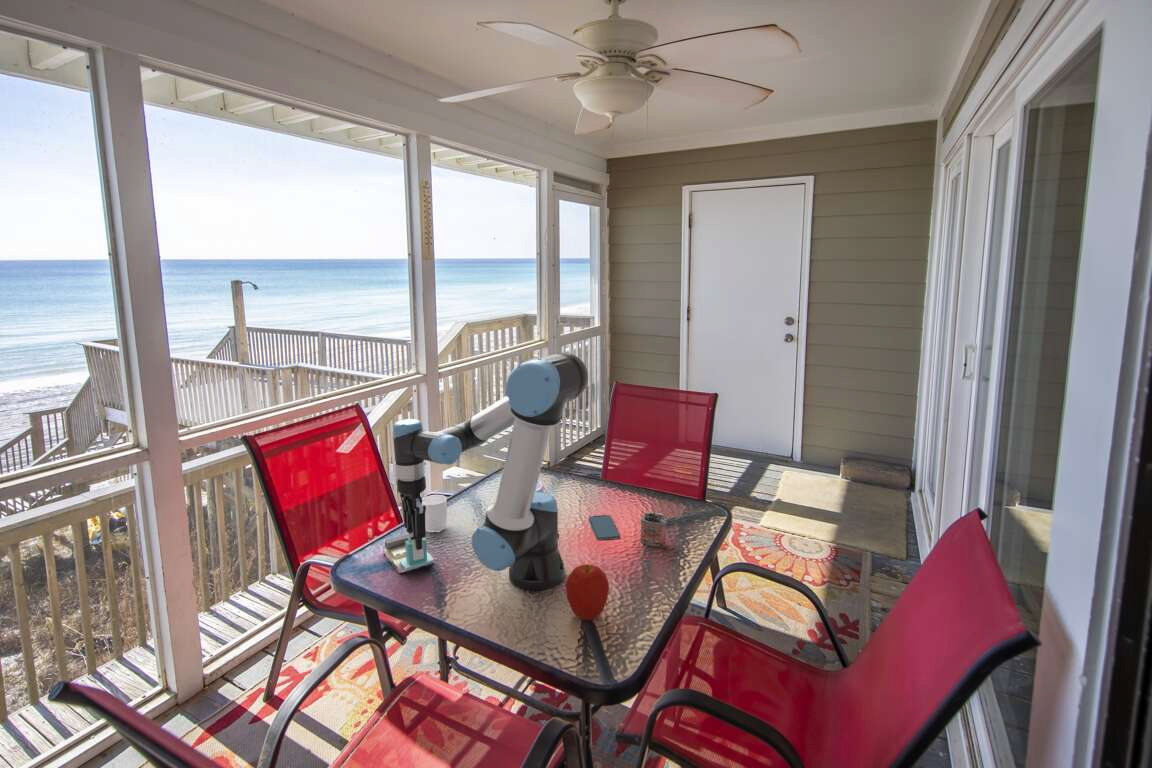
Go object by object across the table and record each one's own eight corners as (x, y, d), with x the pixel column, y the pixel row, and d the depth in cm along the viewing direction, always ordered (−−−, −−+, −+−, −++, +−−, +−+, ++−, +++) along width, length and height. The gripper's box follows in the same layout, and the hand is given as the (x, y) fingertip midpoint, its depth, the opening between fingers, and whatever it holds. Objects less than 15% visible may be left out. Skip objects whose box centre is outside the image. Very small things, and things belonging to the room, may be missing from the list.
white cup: (433, 536, 183) (432, 506, 181) (417, 529, 188) (415, 500, 186) (453, 527, 190) (451, 498, 188) (437, 521, 194) (435, 492, 192)
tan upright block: (638, 542, 178) (638, 512, 176) (642, 538, 181) (642, 507, 179) (663, 548, 174) (664, 517, 172) (667, 543, 177) (668, 512, 175)
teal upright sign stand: (434, 562, 164) (432, 539, 163) (406, 571, 160) (404, 548, 158) (427, 555, 168) (425, 533, 167) (399, 563, 164) (398, 541, 162)
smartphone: (596, 538, 180) (588, 515, 194) (596, 543, 180) (588, 520, 194) (620, 536, 181) (610, 514, 195) (620, 541, 181) (610, 518, 196)
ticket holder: (434, 563, 167) (433, 549, 166) (399, 574, 161) (398, 560, 160) (416, 544, 178) (415, 531, 177) (383, 554, 173) (382, 540, 172)
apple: (607, 603, 147) (607, 552, 144) (610, 627, 137) (611, 573, 134) (565, 604, 146) (564, 553, 144) (566, 629, 137) (565, 574, 134)
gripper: (435, 481, 154) (440, 563, 159) (414, 465, 167) (419, 542, 172) (407, 488, 150) (413, 572, 155) (387, 471, 163) (393, 549, 167)
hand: (416, 556), depth 163 cm, fingers closed on teal upright sign stand, 2 cm apart
